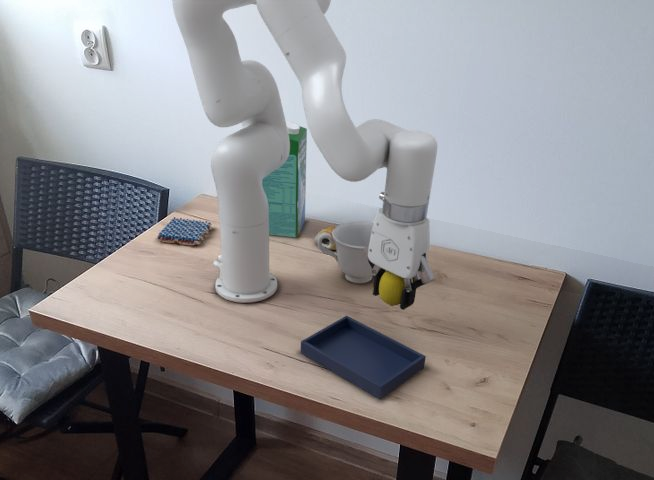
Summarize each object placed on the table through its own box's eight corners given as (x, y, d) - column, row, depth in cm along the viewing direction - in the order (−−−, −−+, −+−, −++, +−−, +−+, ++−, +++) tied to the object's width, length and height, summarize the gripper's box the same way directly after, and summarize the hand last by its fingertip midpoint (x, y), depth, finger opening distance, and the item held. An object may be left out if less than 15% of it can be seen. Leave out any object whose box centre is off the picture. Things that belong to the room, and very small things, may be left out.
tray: (300, 353, 125) (300, 341, 124) (345, 326, 132) (346, 315, 131) (379, 399, 115) (381, 386, 113) (424, 368, 122) (425, 356, 121)
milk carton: (297, 238, 163) (298, 130, 148) (259, 233, 164) (257, 126, 150) (305, 221, 170) (307, 117, 155) (268, 217, 171) (267, 114, 157)
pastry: (341, 231, 166) (342, 216, 164) (362, 241, 162) (363, 226, 160) (312, 243, 160) (313, 228, 158) (333, 254, 156) (333, 238, 154)
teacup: (317, 261, 153) (318, 219, 147) (385, 264, 153) (389, 221, 147) (315, 289, 143) (317, 245, 138) (388, 292, 143) (393, 248, 137)
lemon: (372, 309, 128) (377, 271, 123) (381, 295, 132) (386, 257, 127) (402, 317, 126) (407, 278, 121) (410, 302, 130) (416, 264, 126)
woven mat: (214, 228, 166) (214, 220, 165) (198, 248, 157) (198, 240, 156) (173, 223, 168) (172, 215, 167) (155, 242, 159) (154, 234, 158)
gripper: (351, 197, 120) (343, 288, 131) (433, 232, 111) (418, 327, 121) (379, 186, 124) (369, 275, 135) (460, 218, 115) (443, 311, 126)
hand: (392, 298), depth 128 cm, fingers closed on lemon, 5 cm apart
